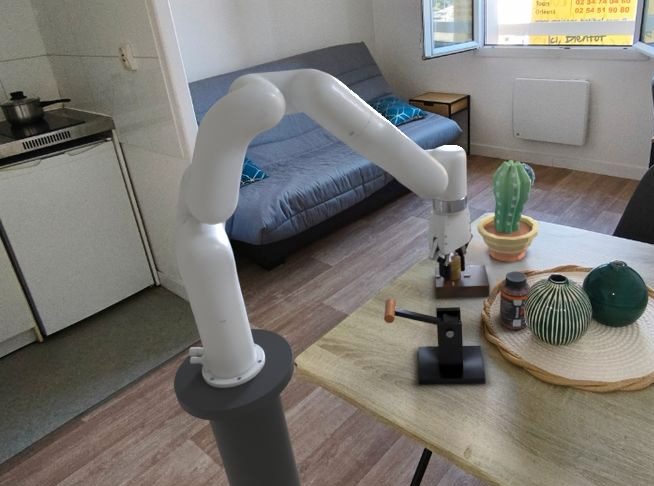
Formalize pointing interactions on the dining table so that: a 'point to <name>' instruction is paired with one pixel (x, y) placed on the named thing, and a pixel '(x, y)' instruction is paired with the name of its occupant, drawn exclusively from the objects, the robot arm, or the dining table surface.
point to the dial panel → (464, 283)
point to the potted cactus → (509, 213)
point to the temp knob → (455, 266)
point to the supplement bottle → (513, 300)
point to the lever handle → (412, 315)
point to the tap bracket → (450, 355)
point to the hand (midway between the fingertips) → (452, 272)
